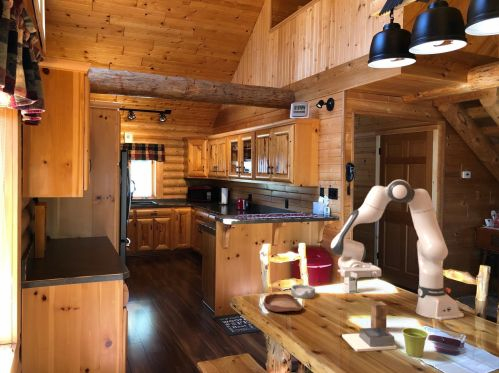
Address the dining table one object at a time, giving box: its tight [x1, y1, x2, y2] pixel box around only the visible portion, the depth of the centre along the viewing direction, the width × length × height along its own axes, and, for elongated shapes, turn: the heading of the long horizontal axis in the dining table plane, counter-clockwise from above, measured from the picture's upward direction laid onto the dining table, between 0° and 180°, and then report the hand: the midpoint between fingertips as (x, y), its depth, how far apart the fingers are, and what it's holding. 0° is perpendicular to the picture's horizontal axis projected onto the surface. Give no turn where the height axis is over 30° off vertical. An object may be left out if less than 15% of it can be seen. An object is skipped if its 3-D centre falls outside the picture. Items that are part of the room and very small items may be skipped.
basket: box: [263, 293, 304, 313], centre depth 213 cm, size 22×20×5 cm
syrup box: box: [343, 277, 358, 295], centre depth 243 cm, size 6×6×14 cm
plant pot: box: [401, 327, 429, 358], centre depth 158 cm, size 9×9×9 cm
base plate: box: [341, 333, 397, 353], centre depth 169 cm, size 17×15×1 cm
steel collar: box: [358, 327, 395, 347], centre depth 169 cm, size 10×10×4 cm
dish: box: [290, 284, 316, 299], centre depth 236 cm, size 14×14×5 cm
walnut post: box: [370, 300, 388, 331], centre depth 184 cm, size 5×5×12 cm
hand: (367, 275), depth 195 cm, fingers open, 8 cm apart
